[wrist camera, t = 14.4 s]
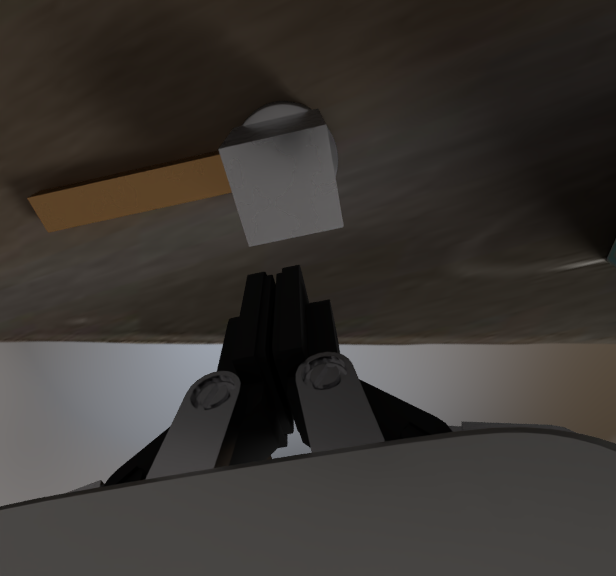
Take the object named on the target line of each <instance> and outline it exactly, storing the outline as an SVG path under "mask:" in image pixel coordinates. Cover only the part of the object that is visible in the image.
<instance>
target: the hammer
mask: <svg viewBox="0 0 616 576" xmlns="http://www.w3.org/2000/svg"><path fill="white" fill-rule="evenodd" d="M309 110H312V109H310V108H308V107H307V106H305V105H302V104H300V103H296V102H291V101H277V102H272V103H269V104H266V105H264V106H262V107H260V108H258V109H257V110H255V111H254V112H253V113H252V114H251V115H250V116H249V117H248V118H247V119H246V121H245V122H244V124H243V125H242V126H244V125H248V124H253V123H257V122H261V121H266V120H270V119H274V118H279V117H283V116H287V115H292V114H296V113H300V112H305V111H309ZM327 131H328V137H329V143H330V149H331V155H332V160H333V166H334V172H335V177H336V173H337V168H338V152H337V147H336V144H335V141H334V138H333V136H332V134H331V132H330V130H329V128H328V126H327ZM227 193H232V191H231V188H230V184H229V181H228V178H227V175H226V172H225V169H224V166H223V162H222V159H221V156H220V153H219V150H218V151H214V152H210V153H205V154H201V155H196V156H192V157H188V158H183V159H179V160H174V161H170V162H165V163H161V164H157V165H152V166H148V167H143V168H139V169H135V170H130V171H126V172H121V173H117V174H112V175H108V176H104V177H99V178H95V179H90V180H86V181H82V182H77V183H73V184H68V185H64V186H59V187H55V188H51V189H46V190H42V191H39V192H37V193H35V194H33V195H32V196H30V197H28V198H27V199H28V200H29V202H30V204H31V205H32V207H33V209H34V210H35V212H36V214H37V215H38V217H39V218H40V220H41V222H42V223H43V225H44V227H45V228H46V230H47V232H53V231H58V230H62V229H67V228H71V227H76V226H80V225H85V224H90V223H94V222H99V221H103V220H108V219H113V218H117V217H122V216H126V215H131V214H135V213H140V212H145V211H149V210H154V209H158V208H163V207H168V206H172V205H177V204H181V203H186V202H191V201H195V200H200V199H204V198H209V197H213V196H218V195H223V194H227Z"/></svg>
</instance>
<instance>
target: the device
mask: <svg viewBox="0 0 616 576" xmlns="http://www.w3.org/2000/svg"><path fill="white" fill-rule="evenodd" d="M606 261H607V262H608V263H610V264H611V265H613V266H614V267H616V239H615V242H614V244H613V246H612V248H611V251H610V253H609V255H608V257H607V260H606Z"/></svg>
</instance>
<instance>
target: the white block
mask: <svg viewBox="0 0 616 576" xmlns="http://www.w3.org/2000/svg"><path fill="white" fill-rule="evenodd" d="M218 150H219V153H220V156H221V159H222V162H223V166H224V169H225V172H226V175H227V178H228V181H229V184H230V188H231V191H232V194H233V197H234V200H235V203H236V207H237V210H238V213H239V216H240V219H241V222H242V225H243V229H244V232H245V235H246V238H247V241H248V244H249V247H250V246H255V245H260V244H265V243H269V242H274V241H279V240H284V239H289V238H293V237H298V236H303V235H308V234H313V233H317V232H322V231H327V230H332V229H337V228H341V227H344V226H343V220H342V214H341V208H340V202H339V196H338V190H337V184H336V178H335V172H334V166H333V160H332V155H331V149H330V143H329V137H328V131H327V125H326V123H325V121H324V119H323V117H322V115H321V113H320V111H319V109H313V110H309V111H305V112H300V113H296V114H292V115H287V116H283V117H279V118H274V119H270V120H266V121H261V122H257V123H253V124H248V125H244V126H240V127H235V128H233V129H232V131H231V132H230V133H229V135H228V136H227V138H226V139H225V140H224V142H223V143H222V145H221V146H220V147H219V149H218Z"/></svg>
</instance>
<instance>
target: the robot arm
mask: <svg viewBox="0 0 616 576" xmlns="http://www.w3.org/2000/svg"><path fill="white" fill-rule="evenodd" d="M294 421H295V424H296V427H297V430H298V432H299V433H300V435H301V438H302V441H303V443H305V444H306V445H307V446H309V447H310V448H311V451H312V453H307V454H300V455H294V456H288V457H281V458H275V459H272V457H271V454H272V453H273V452H274V451H275V450H276V449H277V448H281V447H287V434H291V433H293V431H294ZM0 576H616V444H615V443H612V442H609V441H606V440H603V439H600V438H596V437H592V436H588V435H584V434H579V433H576V432H573V431H571V430H569V429H567V428H565V427H560V426H553V425H538V424H511V423H485V422H484V423H483V422H462V426H459V427H458V426H448V425H447V424H446V423H445V422H443V421H442V420H440V419H439V418H437V417H435V416H433V415H431V414H429V413H427V412H425V411H423V410H421V409H419V408H417V407H415V406H413V405H410V404H408V403H407V402H405V401H402V400H400V399H398V398H396V397H394V396H392V395H390V394H388V393H386V392H384V391H382V390H380V389H378V388H376V387H374V386H372V385H370V384H368V383H366V382H364V381H362V380H360V379H358V376H357V374H356V371H355V369H354V367H353V365H352V363H351V361H350V360H349V359H348V358H347V357H345V356H344V355H342V354H340V350H339V344H338V338H337V333H336V327H335V322H334V317H333V313H332V308H331V303H330V300H324V301H319V302H313V303H309V300H308V296H307V292H306V288H305V284H304V280H303V276H302V272H301V268H300V265H296V266H291V267H286V268H282V273H278V274H277V277H276V284H275V281H274V278H273V275H268V276H267V274H266V272H260V273H255V274H250V275H248V276H247V281H246V286H245V291H244V296H243V301H242V307H241V312H240V317H235V318H231V319H229V321H228V325H227V330H226V334H225V338H224V343H223V348H222V351H221V356H220V360H219V364H218V369H217V372H213V373H210V374H208V375H205V376H203V377H202V378H201V379H199V380H197V381H196V382H195V383H194V384H193V385H192V386H191V387H190V389H189V390H188V392H187V393H186V395H185V397H184V399H183V402H182V403H181V406H180V408H179V410H178V412H177V414H176V416H175V418H174V420H173V422H172V425H171V426H170V427H169V428H168V429H167V430H166V431H164V432H163V433H162V434H161V435H159V436H158V437H157V438H156V439H154V440H153V441H152V442H151V443H149V444H148V445H147V446H146V447H145V448H143V449H142V450H141V451H140V452H138V453H137V454H136V455H135V456H134V457H132V458H131V459H130V460H129V461H127V462H126V463H125V464H124V465H123V466H121V467H120V468H119V469H118V470H117V471H116V472H115V473H114V474H113V475H112V476H111V477H110V478H109V479H108V480H107V482H106V483H105V484H104V483H103V482H102V481H101V480H100V481H97V482H94V483H92V484H89V485H86V486H84V487H81V488H78V489H76V490H73V491H70V492H68V493H64V494H59V495H54V496H49V497H43V498H37V499H32V500H28V501H23V502H18V503H14V504H9V505H4V506H1V507H0Z"/></svg>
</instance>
